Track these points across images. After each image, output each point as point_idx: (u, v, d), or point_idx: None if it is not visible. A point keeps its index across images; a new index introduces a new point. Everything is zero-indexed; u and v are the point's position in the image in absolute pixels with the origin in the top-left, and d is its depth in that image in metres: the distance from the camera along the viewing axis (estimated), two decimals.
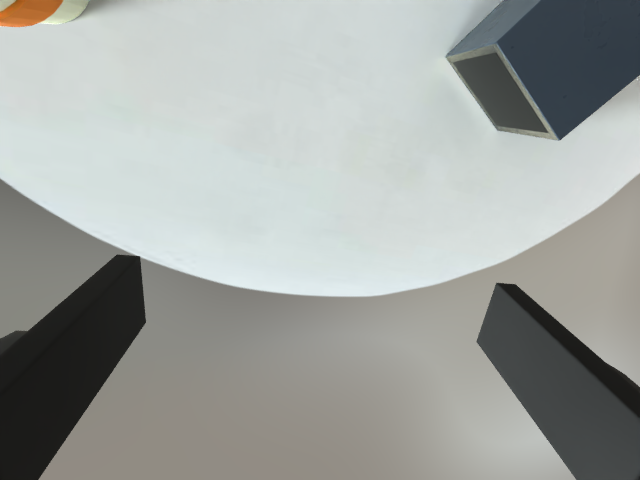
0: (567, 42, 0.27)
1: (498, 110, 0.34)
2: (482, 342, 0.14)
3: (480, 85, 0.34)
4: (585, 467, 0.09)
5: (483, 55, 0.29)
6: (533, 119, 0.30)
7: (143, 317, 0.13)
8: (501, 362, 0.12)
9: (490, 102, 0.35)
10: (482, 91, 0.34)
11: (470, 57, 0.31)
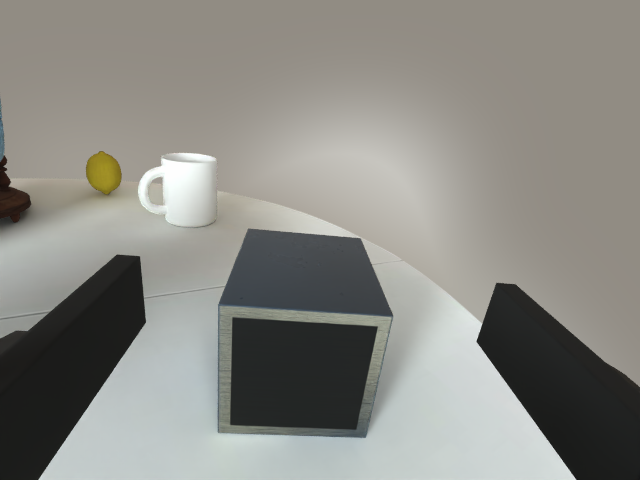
0: (289, 274, 0.23)
1: (328, 399, 0.22)
2: (482, 342, 0.14)
3: (279, 400, 0.22)
4: (585, 467, 0.09)
5: (232, 346, 0.20)
6: (350, 335, 0.21)
7: (143, 317, 0.13)
8: (501, 362, 0.12)
9: (311, 404, 0.22)
10: (290, 405, 0.22)
11: (230, 376, 0.21)
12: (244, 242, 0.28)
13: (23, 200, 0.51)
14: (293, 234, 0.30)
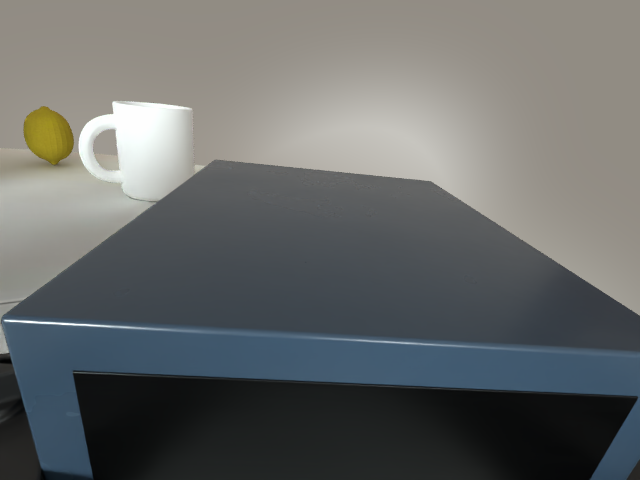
0: (301, 228, 0.08)
1: None
2: None
3: None
4: None
5: (95, 473, 0.06)
6: (531, 428, 0.06)
7: None
8: None
9: None
10: None
11: None
12: (198, 173, 0.13)
13: None
14: (303, 170, 0.15)
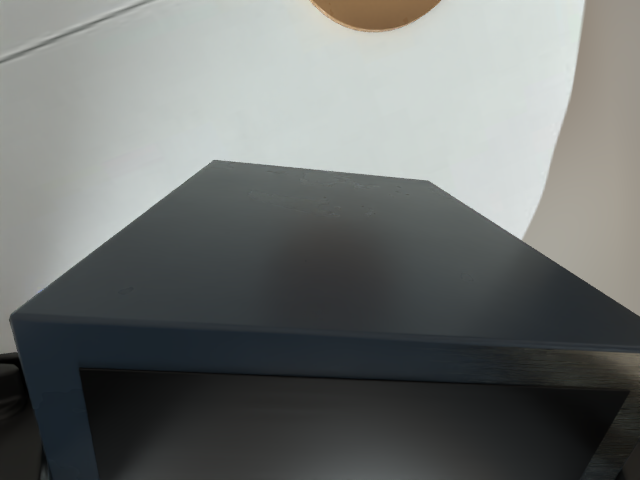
0: (300, 228, 0.09)
1: None
2: None
3: None
4: None
5: (101, 468, 0.06)
6: (526, 421, 0.06)
7: None
8: None
9: None
10: None
11: None
12: (198, 174, 0.13)
13: None
14: (302, 170, 0.15)
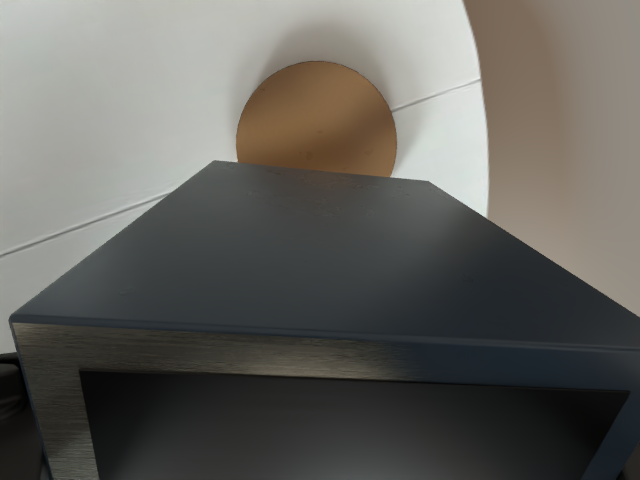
0: (300, 229, 0.09)
1: None
2: None
3: None
4: None
5: (101, 468, 0.06)
6: (526, 423, 0.06)
7: None
8: None
9: None
10: None
11: None
12: (198, 174, 0.13)
13: None
14: (302, 170, 0.15)
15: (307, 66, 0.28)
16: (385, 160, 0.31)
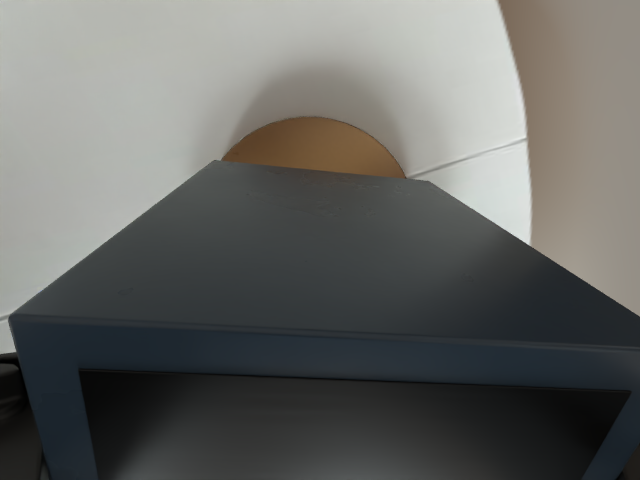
0: (301, 228, 0.09)
1: None
2: None
3: None
4: None
5: (100, 469, 0.06)
6: (527, 422, 0.06)
7: None
8: None
9: None
10: None
11: None
12: (198, 174, 0.13)
13: None
14: (302, 170, 0.15)
15: (296, 124, 0.21)
16: None
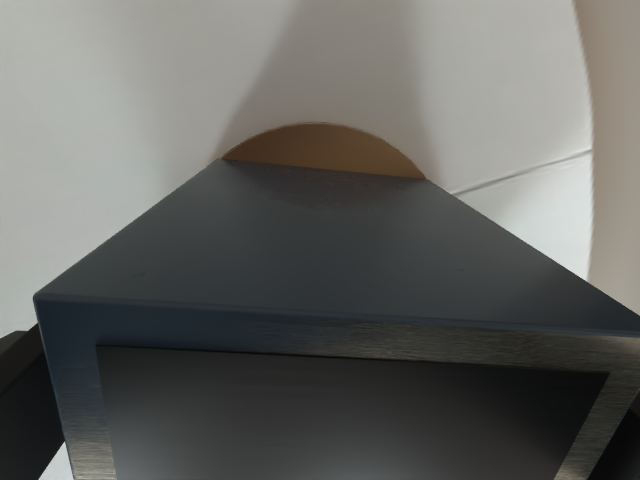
0: (301, 222, 0.09)
1: None
2: None
3: None
4: None
5: (113, 441, 0.06)
6: (512, 402, 0.06)
7: None
8: None
9: None
10: None
11: None
12: (203, 171, 0.13)
13: None
14: (303, 168, 0.16)
15: (298, 132, 0.16)
16: None
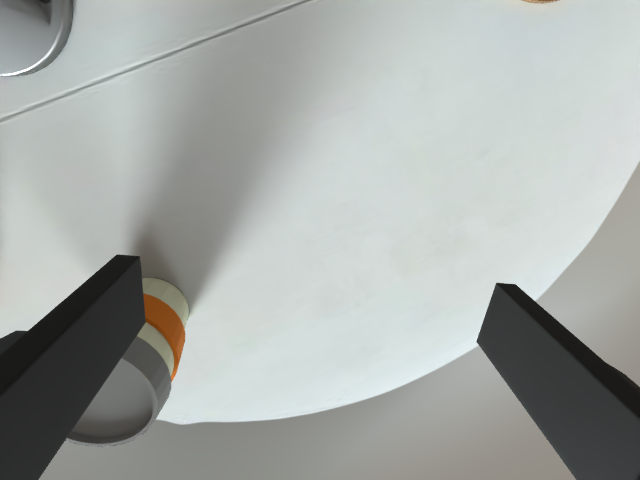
0: None
1: None
2: (482, 342, 0.14)
3: None
4: (585, 467, 0.09)
5: None
6: None
7: (143, 317, 0.13)
8: (501, 362, 0.12)
9: None
10: None
11: None
12: None
13: None
14: None
15: None
16: None
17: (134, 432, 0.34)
